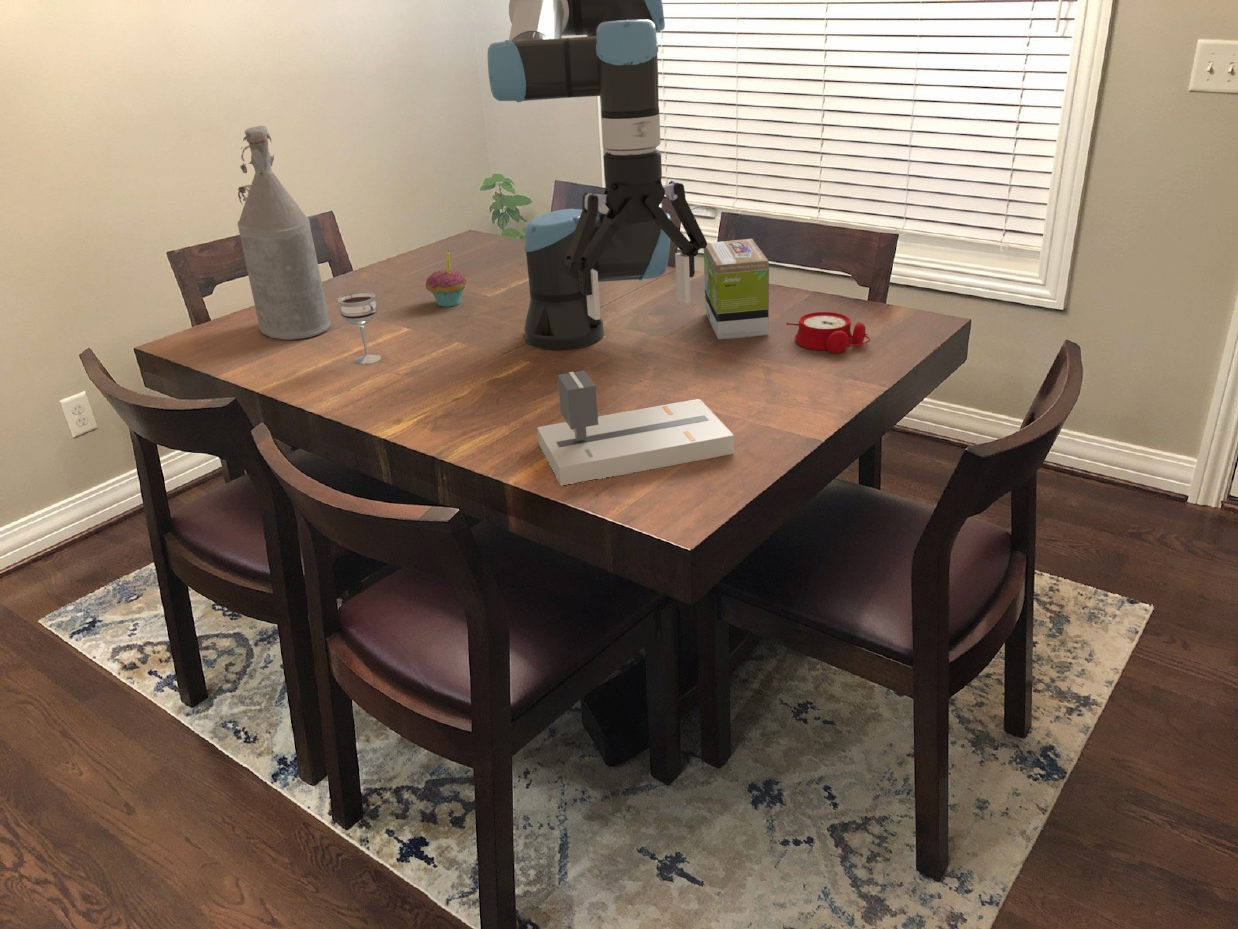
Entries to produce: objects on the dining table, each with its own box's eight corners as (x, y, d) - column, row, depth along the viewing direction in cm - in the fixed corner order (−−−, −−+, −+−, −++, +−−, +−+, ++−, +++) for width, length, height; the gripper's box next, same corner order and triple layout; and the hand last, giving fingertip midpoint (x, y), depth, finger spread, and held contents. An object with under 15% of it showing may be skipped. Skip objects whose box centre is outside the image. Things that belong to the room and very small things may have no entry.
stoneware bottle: (296, 312, 217) (255, 118, 198) (345, 327, 207) (307, 124, 188) (243, 330, 208) (195, 129, 190) (292, 346, 198) (246, 135, 180)
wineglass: (373, 349, 194) (362, 289, 189) (393, 357, 190) (382, 295, 184) (342, 360, 190) (330, 298, 185) (361, 368, 186) (350, 305, 180)
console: (538, 445, 154) (537, 426, 153) (699, 416, 160) (699, 398, 159) (560, 486, 142) (559, 467, 141) (733, 453, 148) (733, 434, 147)
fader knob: (562, 431, 150) (557, 374, 145) (588, 427, 151) (584, 369, 146) (572, 449, 144) (567, 389, 140) (599, 444, 145) (595, 385, 141)
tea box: (703, 314, 202) (702, 240, 195) (753, 310, 203) (754, 236, 196) (716, 340, 189) (715, 263, 182) (769, 336, 189) (771, 258, 182)
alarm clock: (816, 307, 192) (881, 307, 180) (821, 339, 193) (885, 341, 182) (778, 321, 186) (842, 322, 174) (783, 354, 188) (847, 358, 176)
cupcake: (477, 299, 218) (470, 244, 212) (451, 312, 211) (443, 255, 206) (446, 294, 222) (439, 240, 216) (420, 306, 216) (411, 251, 210)
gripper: (551, 164, 124) (565, 331, 133) (730, 142, 133) (731, 300, 142) (531, 157, 130) (545, 317, 139) (703, 136, 139) (706, 288, 148)
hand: (639, 309), depth 141 cm, fingers open, 13 cm apart
